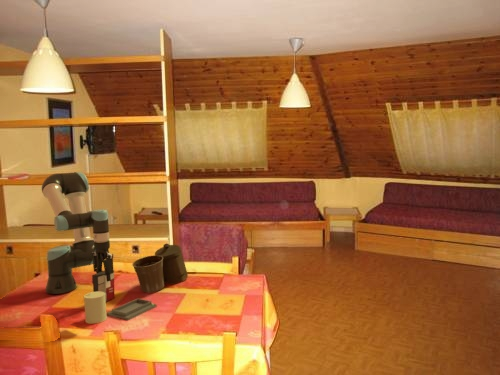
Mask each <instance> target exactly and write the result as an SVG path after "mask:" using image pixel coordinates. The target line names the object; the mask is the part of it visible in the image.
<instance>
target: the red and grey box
mask: <svg viewBox="0 0 500 375" xmlns="http://www.w3.org/2000/svg"><path fill="white" fill-rule="evenodd" d="M104 275H105V270H102V272H100V273H94V274H92V276H91V279H92V280H91V281H92V284H93V286H92V287H93V289H92V292H96V291H102V292H105V301H106V303H107V302H109V301H112V300H113V299H115V270H114V269H113V273H112V274H110V277H111V280H110V285H111V287H108V288H105V277H104Z"/></svg>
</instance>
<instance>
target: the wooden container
mask: <svg viewBox="0 0 500 375" xmlns="http://www.w3.org/2000/svg"><path fill="white" fill-rule="evenodd" d="M154 255H159V256H157V258H158V259H160V256H162V257H163V276H164V284H167V285H168V284H169V285H172V284H173V285H174V284H180V283H182V282H184V281H186V280H187V278H188V276H189V275H188V272H187V267H186V263H185V259H184V256H183V254H182V249H181V246H180V245H178V244H169V243H167V242H166V243H164V244H163V246H162V247H160V248H159V249H157V250H156V251H155V252H154Z"/></svg>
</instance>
